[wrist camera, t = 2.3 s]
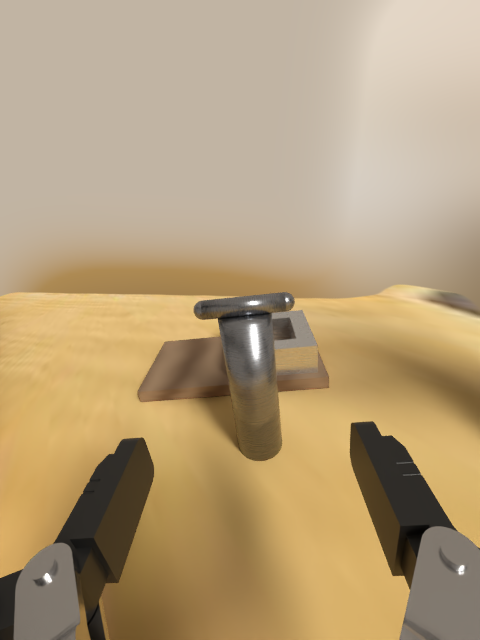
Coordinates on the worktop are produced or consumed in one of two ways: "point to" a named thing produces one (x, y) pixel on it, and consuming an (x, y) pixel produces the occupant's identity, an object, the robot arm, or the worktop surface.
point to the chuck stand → (210, 370)
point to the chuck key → (251, 366)
